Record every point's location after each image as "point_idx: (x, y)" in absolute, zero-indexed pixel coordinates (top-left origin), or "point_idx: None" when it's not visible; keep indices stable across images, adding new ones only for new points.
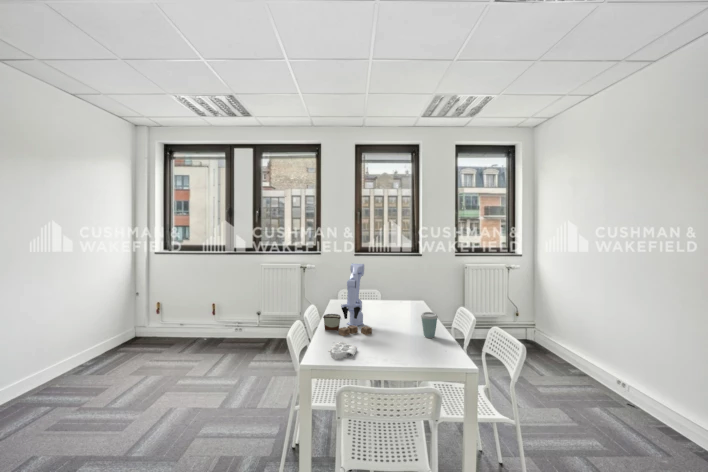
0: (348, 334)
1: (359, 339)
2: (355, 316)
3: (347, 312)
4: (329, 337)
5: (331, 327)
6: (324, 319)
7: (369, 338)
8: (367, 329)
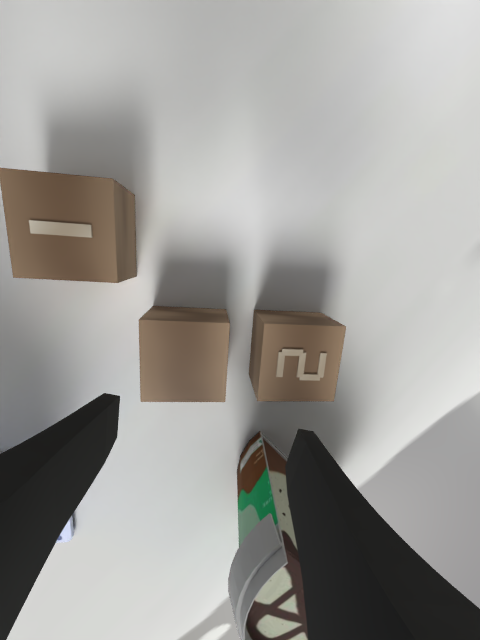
0: (268, 311)
1: (282, 143)
2: (101, 435)
3: (356, 531)
4: (418, 357)
5: None
6: None
7: (180, 85)
8: (92, 177)
